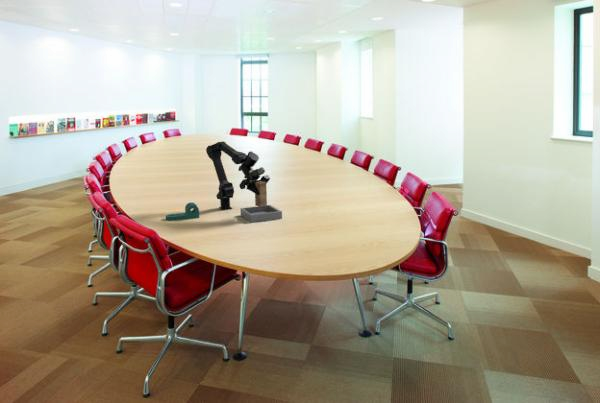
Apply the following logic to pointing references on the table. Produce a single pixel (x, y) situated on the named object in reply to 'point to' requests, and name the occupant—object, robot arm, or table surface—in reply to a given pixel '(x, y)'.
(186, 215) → the bracket
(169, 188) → the table surface
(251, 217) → the box
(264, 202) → the brown tall block
